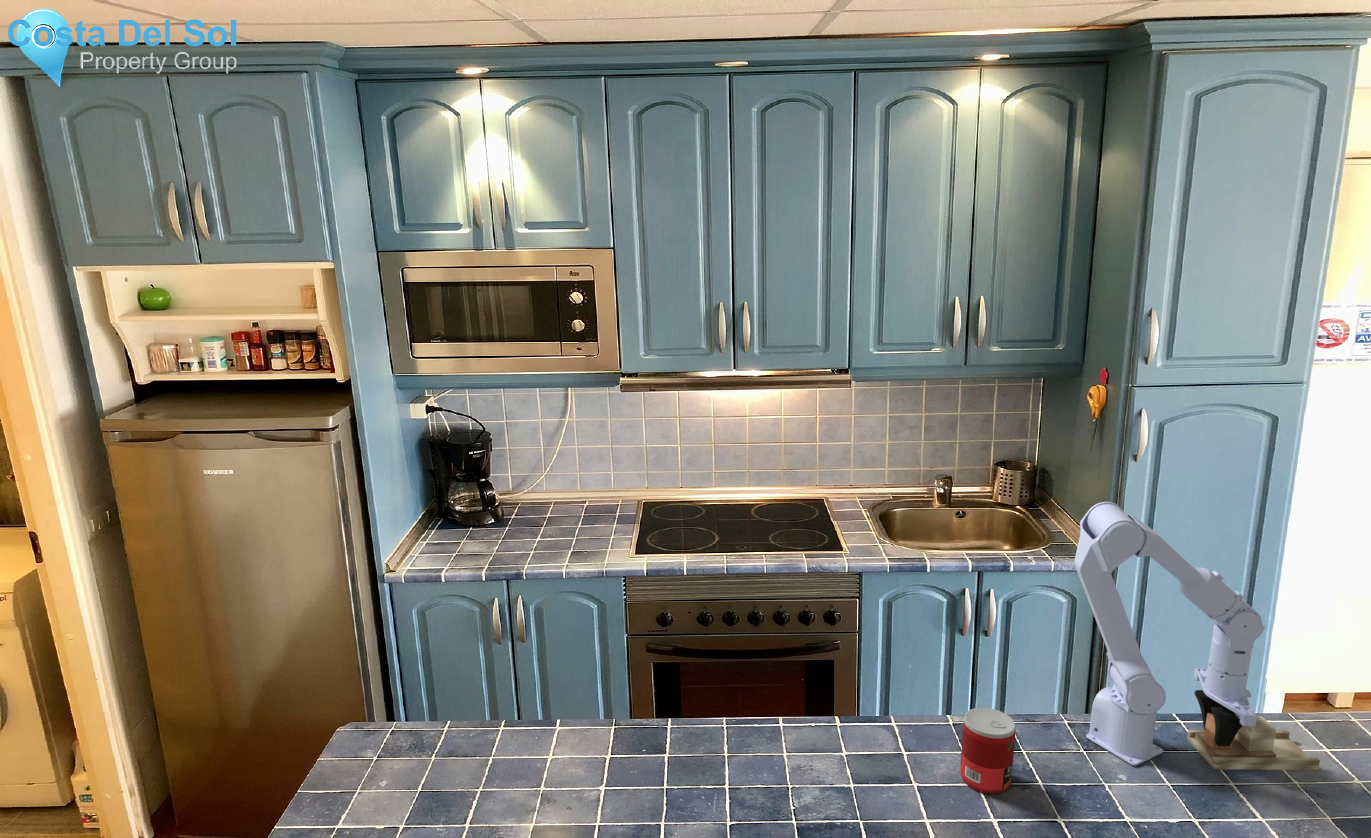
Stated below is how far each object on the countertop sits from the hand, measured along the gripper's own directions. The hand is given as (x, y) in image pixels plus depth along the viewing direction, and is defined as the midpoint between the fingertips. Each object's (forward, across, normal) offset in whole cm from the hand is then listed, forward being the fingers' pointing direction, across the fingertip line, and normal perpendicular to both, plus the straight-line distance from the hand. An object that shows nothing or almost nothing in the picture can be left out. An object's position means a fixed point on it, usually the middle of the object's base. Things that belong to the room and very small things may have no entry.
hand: (1217, 738), depth 145 cm
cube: (+1, 0, -6) cm, 6 cm away
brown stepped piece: (+2, 0, -3) cm, 4 cm away
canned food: (+3, -7, +41) cm, 42 cm away
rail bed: (+3, 0, -6) cm, 7 cm away
